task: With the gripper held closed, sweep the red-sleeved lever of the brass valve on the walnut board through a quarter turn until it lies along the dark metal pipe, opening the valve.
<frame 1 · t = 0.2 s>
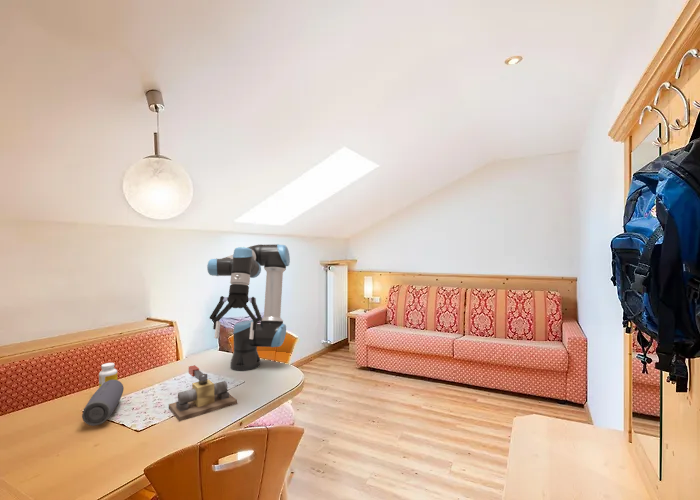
hand: (233, 338, 144), 28 cm above the table, tool tilted 20°, fingers open, 13 cm apart
bluetooth speaker: (104, 415, 140), on the table
supplement bottle: (108, 394, 158), on the table
valve: (203, 405, 147), on the table
lever: (197, 374, 152), point 11 cm above the table, hinge at -90.0°
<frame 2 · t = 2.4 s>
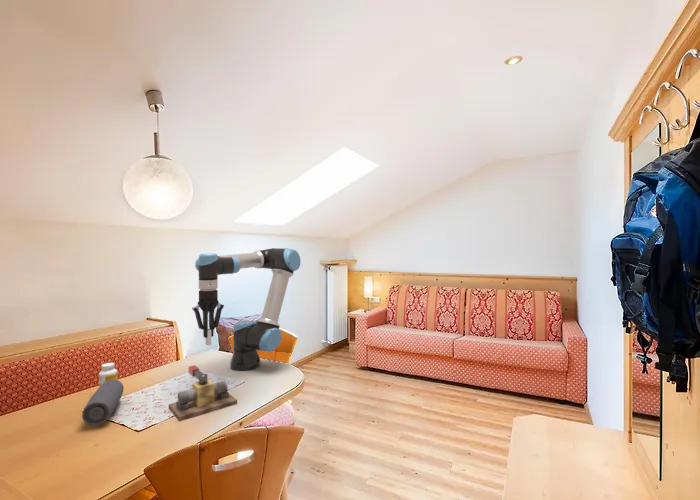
hand: (208, 344, 158), 21 cm above the table, tool pointing down, fingers closed
nothing on the table moved.
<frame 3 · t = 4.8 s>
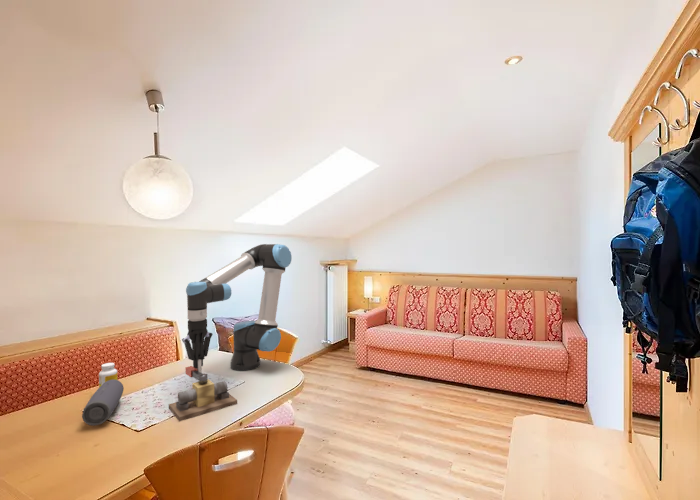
hand: (198, 374, 155), 10 cm above the table, tool pointing down, fingers closed
lever: (196, 374, 151), point 11 cm above the table, hinge at -84.6°, touching gripper
everything else where it was.
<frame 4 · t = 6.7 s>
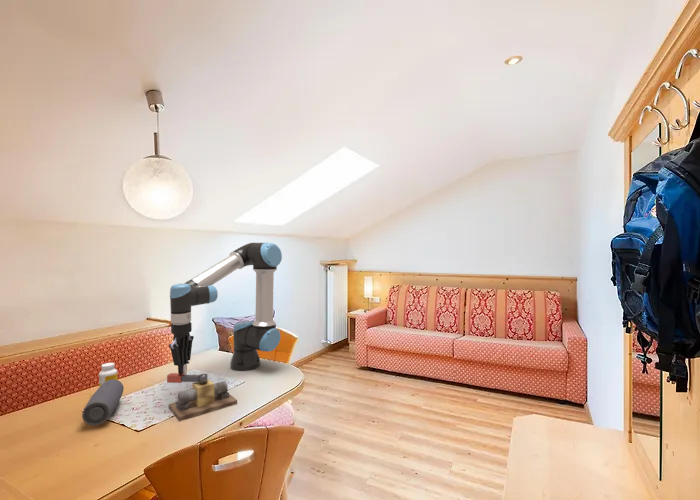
hand: (182, 380, 149), 9 cm above the table, tool pointing down, fingers closed
lever: (187, 378, 147), point 11 cm above the table, hinge at -43.4°, touching gripper
everything else where it was.
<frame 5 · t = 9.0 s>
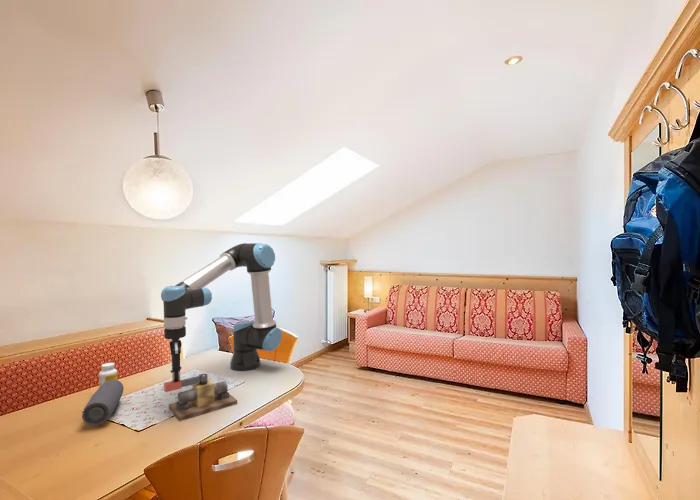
hand: (176, 387, 143), 9 cm above the table, tool pointing down, fingers closed
lever: (186, 382, 143), point 11 cm above the table, hinge at -1.3°, touching gripper
everything else where it was.
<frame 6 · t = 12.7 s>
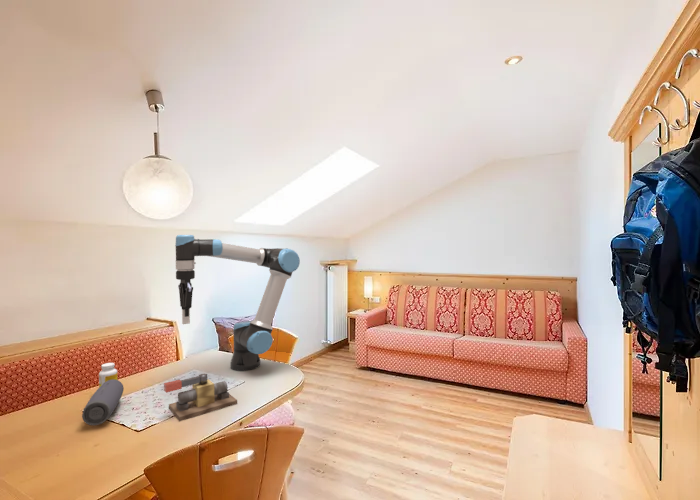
hand: (186, 323, 162), 29 cm above the table, tool pointing down, fingers closed
lever: (186, 382, 143), point 11 cm above the table, hinge at 0.2°
everything else where it was.
at the end: lever at +0° (first picture: -90°); bluetooth speaker moved 0.3 cm from its start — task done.
